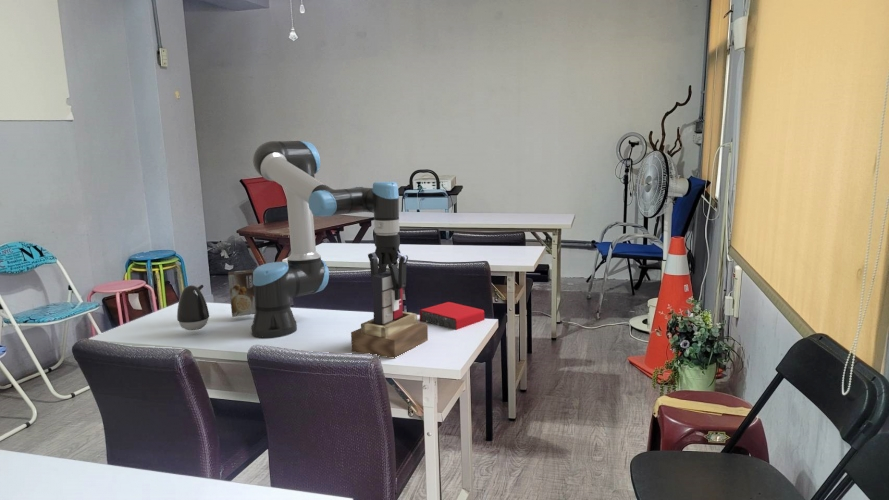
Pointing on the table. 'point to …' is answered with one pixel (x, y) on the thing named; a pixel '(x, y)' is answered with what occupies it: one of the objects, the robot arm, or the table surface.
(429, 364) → the table surface
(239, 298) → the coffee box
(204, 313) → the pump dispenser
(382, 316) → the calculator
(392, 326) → the display riser
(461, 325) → the red device housing
